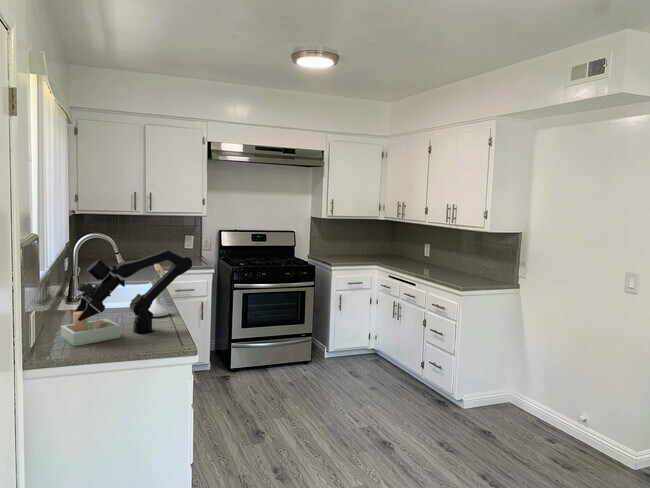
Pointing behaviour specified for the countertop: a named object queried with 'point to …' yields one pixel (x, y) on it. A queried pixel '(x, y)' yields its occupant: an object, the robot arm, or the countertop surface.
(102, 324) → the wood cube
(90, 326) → the tote
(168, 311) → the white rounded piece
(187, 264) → the robot arm
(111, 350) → the countertop surface
